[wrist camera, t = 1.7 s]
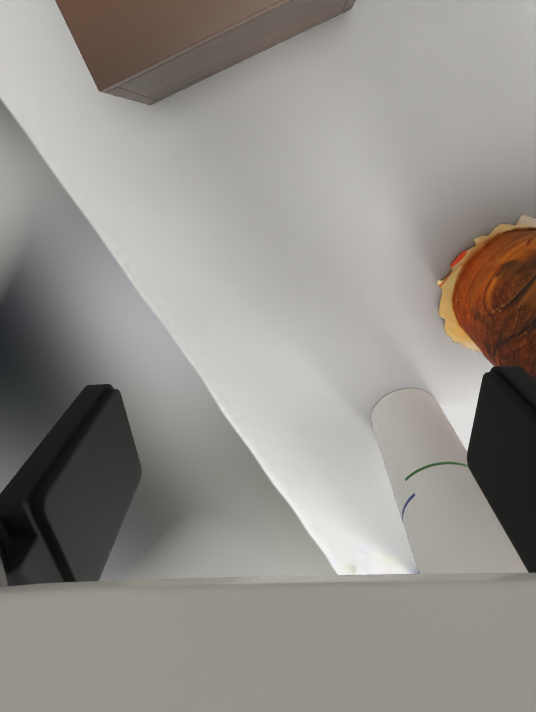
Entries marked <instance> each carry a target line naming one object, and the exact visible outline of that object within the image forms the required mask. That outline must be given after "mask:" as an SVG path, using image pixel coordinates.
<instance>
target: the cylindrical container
mask: <svg viewBox="0 0 536 712" xmlns="http://www.w3.org/2000/svg"><path fill="white" fill-rule="evenodd" d="M371 423H372V426H373V430H374V433H375V436H376V439H377V442H378V446H379V449H380V452H381V455H382V458H383V461H384V465H385V468H386V471H387V474H388V477H389V480H390V483H391V486H392V489H393V492H394V496H395V499H396V502H397V505H398V508H399V511H400V514H401V517H402V520H403V524H404V527H405V530H406V533H407V536H408V539H409V542H410V546H411V549H412V552H413V555H414V558H415V561H416V565H417V568H418V571H419V574H456V573H528V571H527V569H526V567H525V566H524V564H523V562H522V560H521V559H520V557H519V555H518V553H517V552H516V550H515V548H514V546H513V545H512V543H511V541H510V539H509V538H508V536H507V534H506V533H505V531H504V529H503V527H502V526H501V524H500V522H499V520H498V519H497V517H496V515H495V513H494V512H493V510H492V508H491V506H490V505H489V503H488V501H487V499H486V498H485V496H484V494H483V492H482V491H481V489H480V487H479V486H478V484H477V482H476V480H475V479H474V477H473V475H472V473H471V472H470V470H469V467H468V464H467V451H466V449H465V447H464V446H463V444H462V442H461V441H460V439H459V437H458V436H457V434H456V432H455V431H454V429H453V427H452V426H451V424H450V422H449V421H448V419H447V417H446V416H445V414H444V412H443V411H442V409H441V407H440V405H439V404H438V402H437V400H436V399H435V398H434V397H433V396H432V395H431V394H429V393H428V392H426V391H423V390H420V389H414V388H407V389H400V390H397V391H394V392H392V393H389V394H388V395H386V396H385V397H383V398H382V399H381V400H380V401H379V402H378V403H377V404H376V406H375V407H374V410H373V412H372V416H371Z"/></svg>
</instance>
